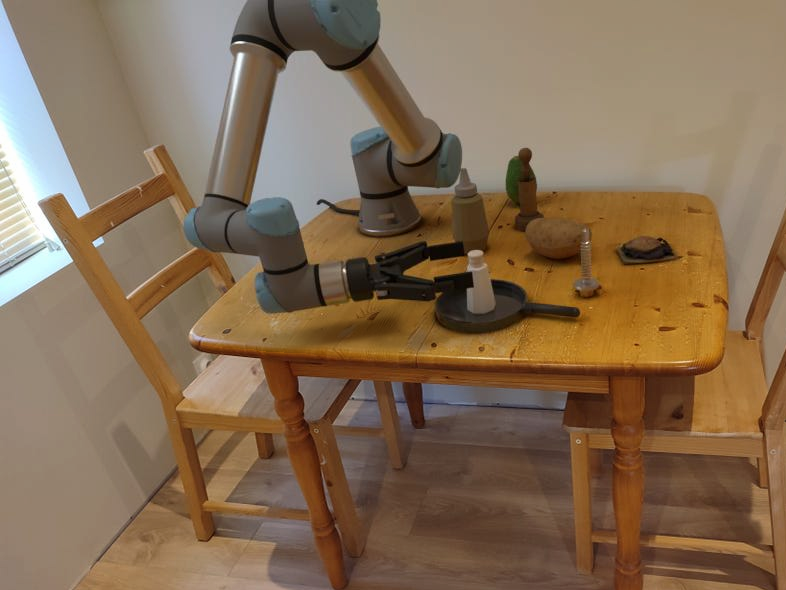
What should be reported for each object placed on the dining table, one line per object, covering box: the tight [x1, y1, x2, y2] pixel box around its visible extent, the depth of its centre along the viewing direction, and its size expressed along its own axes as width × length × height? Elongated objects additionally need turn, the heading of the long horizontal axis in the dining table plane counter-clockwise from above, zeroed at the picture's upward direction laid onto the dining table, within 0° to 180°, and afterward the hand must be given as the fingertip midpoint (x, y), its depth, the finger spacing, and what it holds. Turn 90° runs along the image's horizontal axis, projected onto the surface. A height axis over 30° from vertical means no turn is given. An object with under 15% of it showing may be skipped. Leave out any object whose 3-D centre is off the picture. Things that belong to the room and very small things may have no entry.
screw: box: [572, 228, 600, 298], centre depth 118 cm, size 13×5×5 cm
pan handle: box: [522, 301, 581, 319], centre depth 115 cm, size 11×2×2 cm, turn 66°
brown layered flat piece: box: [616, 235, 676, 265], centre depth 132 cm, size 11×8×4 cm
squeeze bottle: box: [451, 167, 490, 255], centre depth 139 cm, size 8×8×18 cm
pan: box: [434, 278, 529, 334], centre depth 120 cm, size 17×17×2 cm
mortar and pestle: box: [514, 147, 544, 232], centre depth 148 cm, size 7×6×18 cm
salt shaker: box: [466, 250, 496, 314], centre depth 117 cm, size 5×5×11 cm
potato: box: [524, 217, 593, 260], centre depth 134 cm, size 10×14×8 cm
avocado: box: [505, 155, 538, 205], centre depth 162 cm, size 8×8×12 cm
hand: (468, 263), depth 115 cm, fingers open, 13 cm apart
